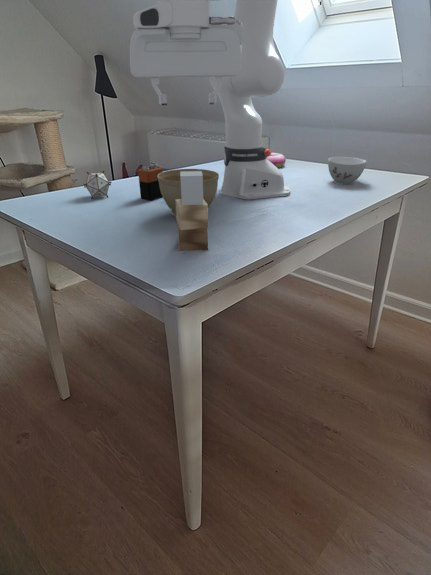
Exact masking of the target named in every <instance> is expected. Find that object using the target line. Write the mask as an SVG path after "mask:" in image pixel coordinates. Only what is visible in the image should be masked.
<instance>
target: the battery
mask: <svg viewBox="0 0 431 575" xmlns="http://www.w3.org/2000/svg"><path fill="white" fill-rule="evenodd" d="M163 170H164V168H163V167H162V166H158V163H151V164H150V166H147V165H146V166H143V167H142V168H139V169H138V170H137V174H138V183H139V184H138V186H139V193H140V199H141V200H145V201H148V202H152V201H154V200H157V199H161V198H163V197H162V194H161V191H160V186H159V181H158V177H157V176H158V174H159V173H162V172H164V171H163Z"/></svg>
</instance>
